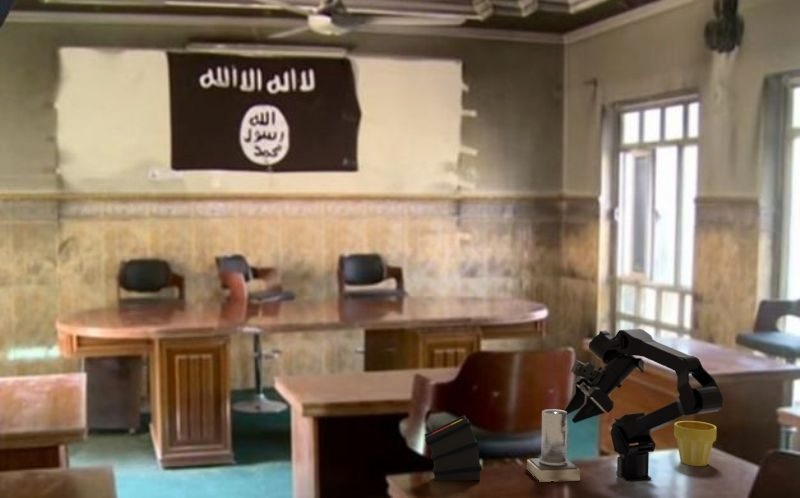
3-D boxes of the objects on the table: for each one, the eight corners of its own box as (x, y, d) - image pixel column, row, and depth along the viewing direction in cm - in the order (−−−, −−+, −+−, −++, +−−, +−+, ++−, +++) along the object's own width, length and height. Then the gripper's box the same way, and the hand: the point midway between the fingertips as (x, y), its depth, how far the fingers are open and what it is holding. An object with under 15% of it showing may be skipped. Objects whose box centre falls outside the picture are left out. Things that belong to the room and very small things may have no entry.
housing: (562, 458, 224) (563, 408, 223) (571, 466, 217) (572, 414, 217) (535, 459, 223) (536, 409, 222) (544, 467, 216) (545, 415, 216)
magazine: (494, 474, 215) (467, 417, 214) (444, 498, 214) (417, 442, 213) (491, 469, 218) (465, 414, 217) (442, 493, 218) (416, 437, 217)
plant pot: (716, 459, 236) (717, 422, 235) (714, 470, 226) (715, 431, 226) (675, 455, 239) (675, 418, 239) (671, 465, 230) (672, 427, 229)
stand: (565, 468, 226) (565, 456, 226) (579, 480, 216) (580, 468, 216) (526, 470, 224) (527, 458, 224) (539, 482, 214) (539, 469, 214)
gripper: (583, 344, 231) (539, 386, 231) (601, 355, 213) (553, 402, 213) (613, 374, 232) (569, 417, 232) (633, 389, 213) (586, 435, 213)
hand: (568, 417), depth 223 cm, fingers open, 9 cm apart
